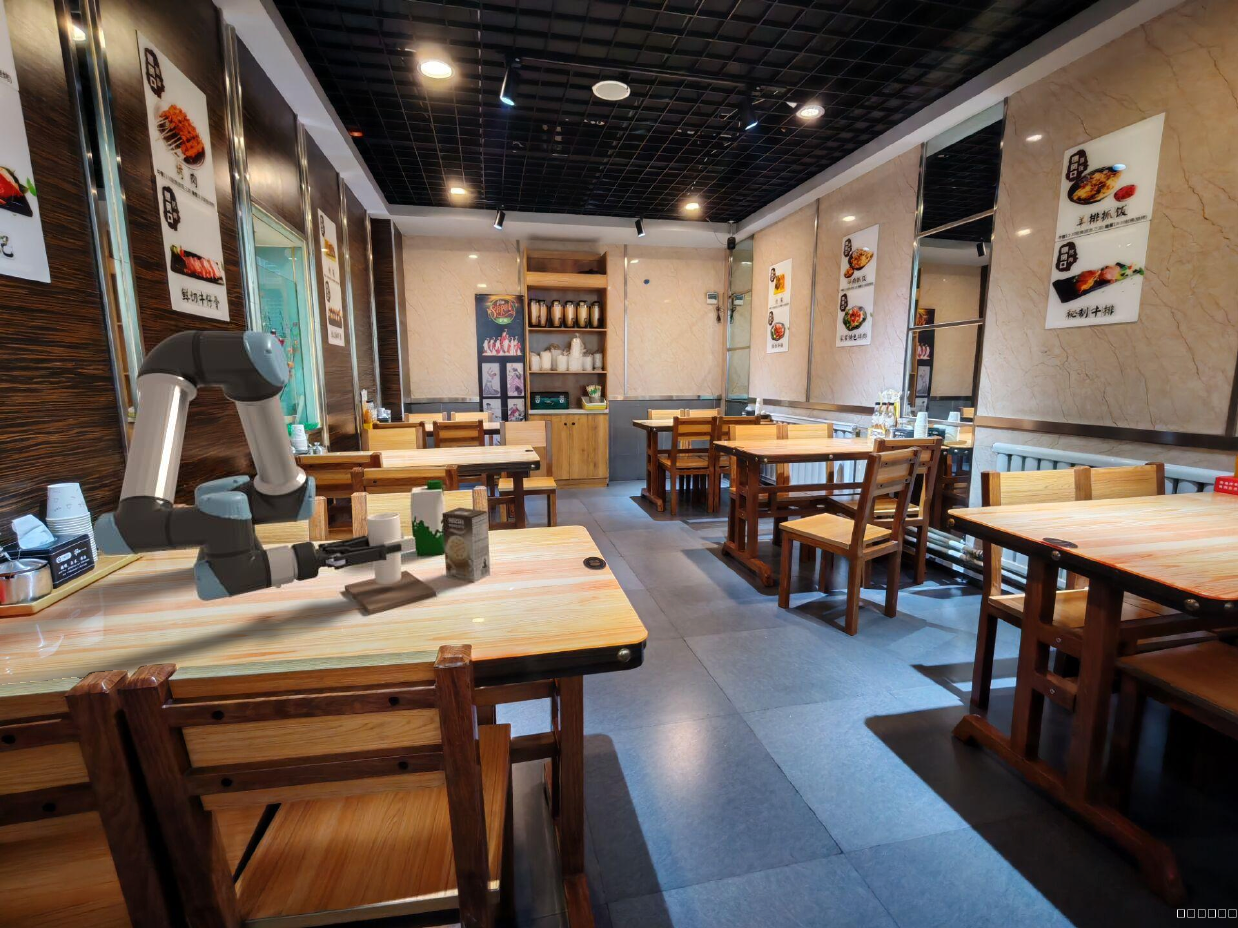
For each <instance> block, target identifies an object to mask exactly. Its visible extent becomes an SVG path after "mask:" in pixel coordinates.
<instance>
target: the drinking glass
mask: <svg viewBox="0 0 1238 928" xmlns="http://www.w3.org/2000/svg"><path fill="white" fill-rule="evenodd" d="M366 529H367V531H366V532H367V534H368V539H369V545H370V546H377V545H384V544H383V543H386V542H392V541H396V540H401V531H402V526H401V518H400V514H399V513H397V512H382V513H375V514H372V515H369V516H367V517H366ZM372 564H373V571H374V578H375V580H376V583H377V584H380V585H389V584H393V583H396V582H398V581H400V579H401V572H402V552H401V553H397V554H392V555H387V556H386V560H384V561H383V560H379V561H374V562H372Z"/></svg>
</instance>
